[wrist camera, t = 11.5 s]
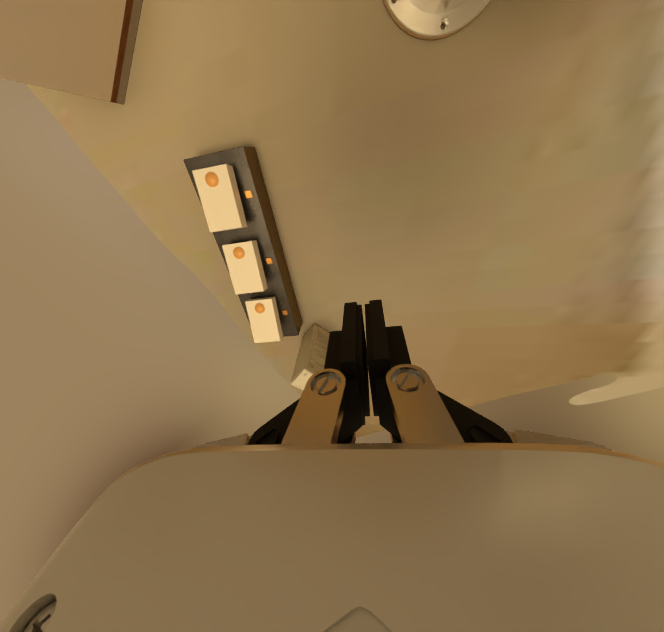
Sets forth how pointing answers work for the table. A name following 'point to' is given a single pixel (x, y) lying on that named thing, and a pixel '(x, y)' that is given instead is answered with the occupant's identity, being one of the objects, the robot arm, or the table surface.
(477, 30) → the table surface
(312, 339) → the skincare box
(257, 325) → the rocker
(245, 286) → the cream flat rectangular block
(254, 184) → the power strip
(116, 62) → the display case
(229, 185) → the rocker
